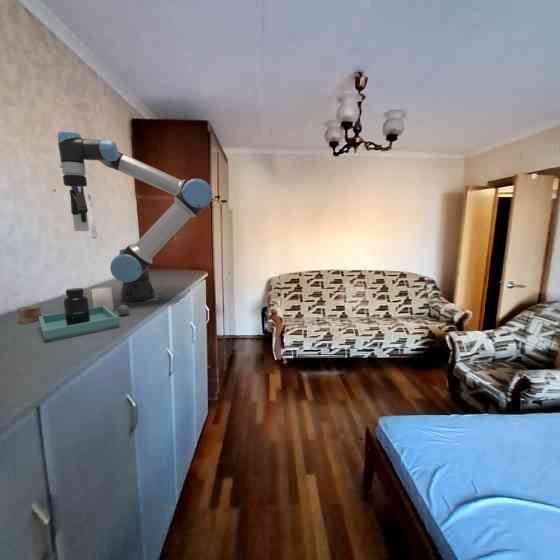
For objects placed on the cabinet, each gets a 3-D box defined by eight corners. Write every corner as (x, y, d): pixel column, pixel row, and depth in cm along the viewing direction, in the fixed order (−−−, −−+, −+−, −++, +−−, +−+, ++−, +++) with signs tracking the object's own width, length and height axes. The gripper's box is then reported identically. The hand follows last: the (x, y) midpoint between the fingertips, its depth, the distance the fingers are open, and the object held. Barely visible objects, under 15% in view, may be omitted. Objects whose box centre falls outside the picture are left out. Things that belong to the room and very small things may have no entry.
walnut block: (36, 318, 114) (34, 305, 113) (42, 320, 111) (40, 307, 110) (19, 322, 109) (17, 308, 109) (25, 324, 107) (22, 310, 106)
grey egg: (128, 312, 119) (127, 303, 118) (131, 315, 116) (130, 304, 115) (116, 315, 116) (115, 304, 115) (119, 317, 113) (118, 306, 112)
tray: (105, 314, 117) (104, 305, 116) (119, 326, 102) (118, 316, 102) (40, 326, 104) (38, 316, 103) (45, 342, 89) (43, 331, 89)
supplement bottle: (78, 327, 99) (73, 291, 97) (61, 326, 100) (56, 291, 98) (95, 321, 106) (91, 287, 103) (78, 320, 107) (74, 286, 105)
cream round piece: (111, 307, 128) (108, 286, 126) (116, 310, 123) (113, 288, 121) (92, 310, 123) (89, 288, 121) (96, 313, 118) (93, 291, 116)
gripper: (58, 178, 124) (65, 231, 128) (67, 169, 106) (75, 231, 109) (80, 180, 129) (86, 230, 133) (92, 172, 110) (99, 231, 114)
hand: (81, 231), depth 121 cm, fingers open, 13 cm apart
